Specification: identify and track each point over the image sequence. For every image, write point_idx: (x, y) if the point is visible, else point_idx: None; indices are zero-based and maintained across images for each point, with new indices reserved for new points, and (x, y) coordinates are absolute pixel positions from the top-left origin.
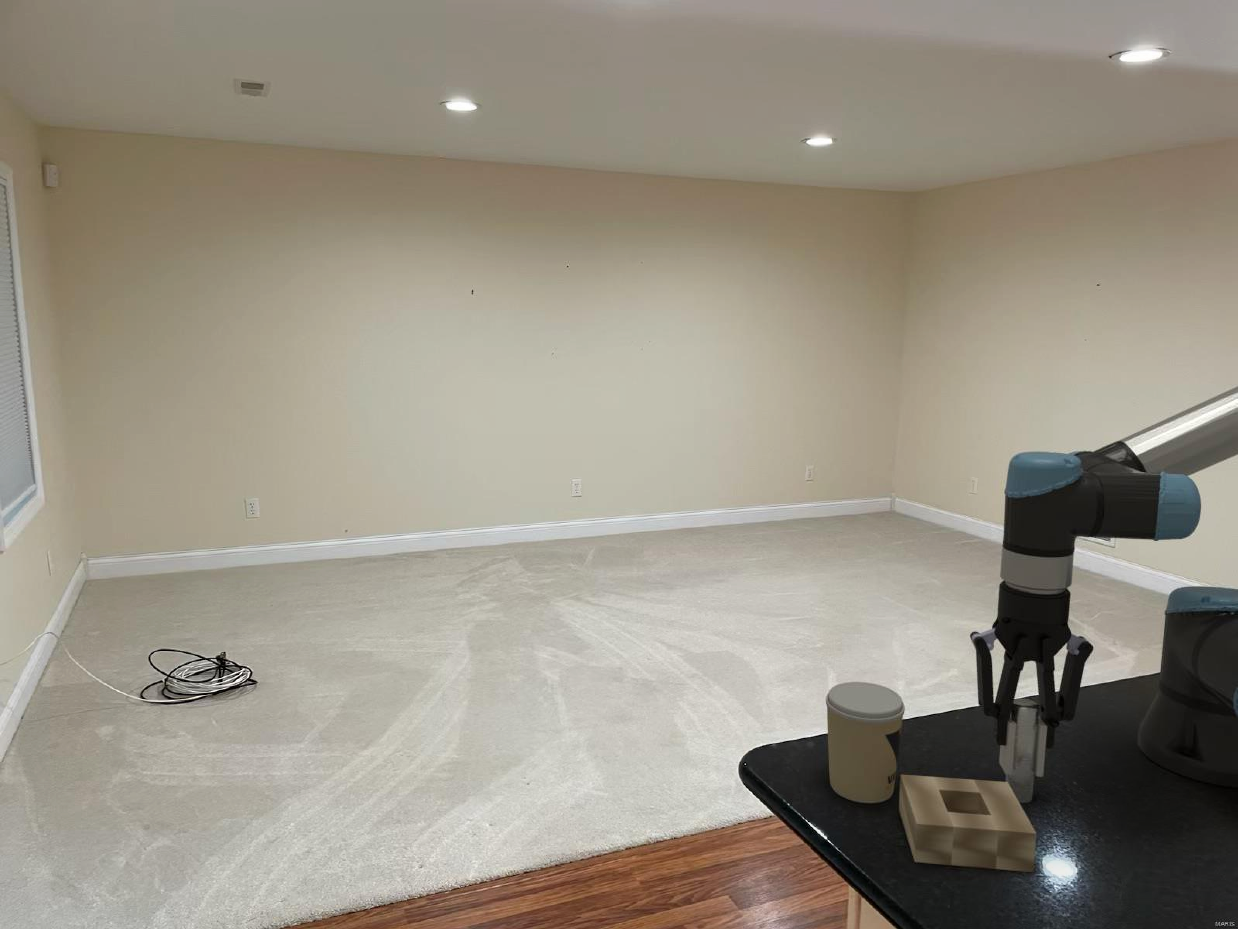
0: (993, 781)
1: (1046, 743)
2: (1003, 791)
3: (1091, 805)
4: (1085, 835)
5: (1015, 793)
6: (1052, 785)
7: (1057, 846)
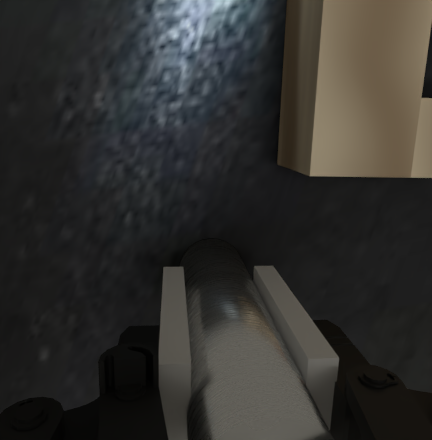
0: (353, 174)
1: (149, 335)
2: (345, 113)
3: (34, 253)
4: (97, 107)
5: (230, 249)
6: (106, 332)
7: (188, 46)
